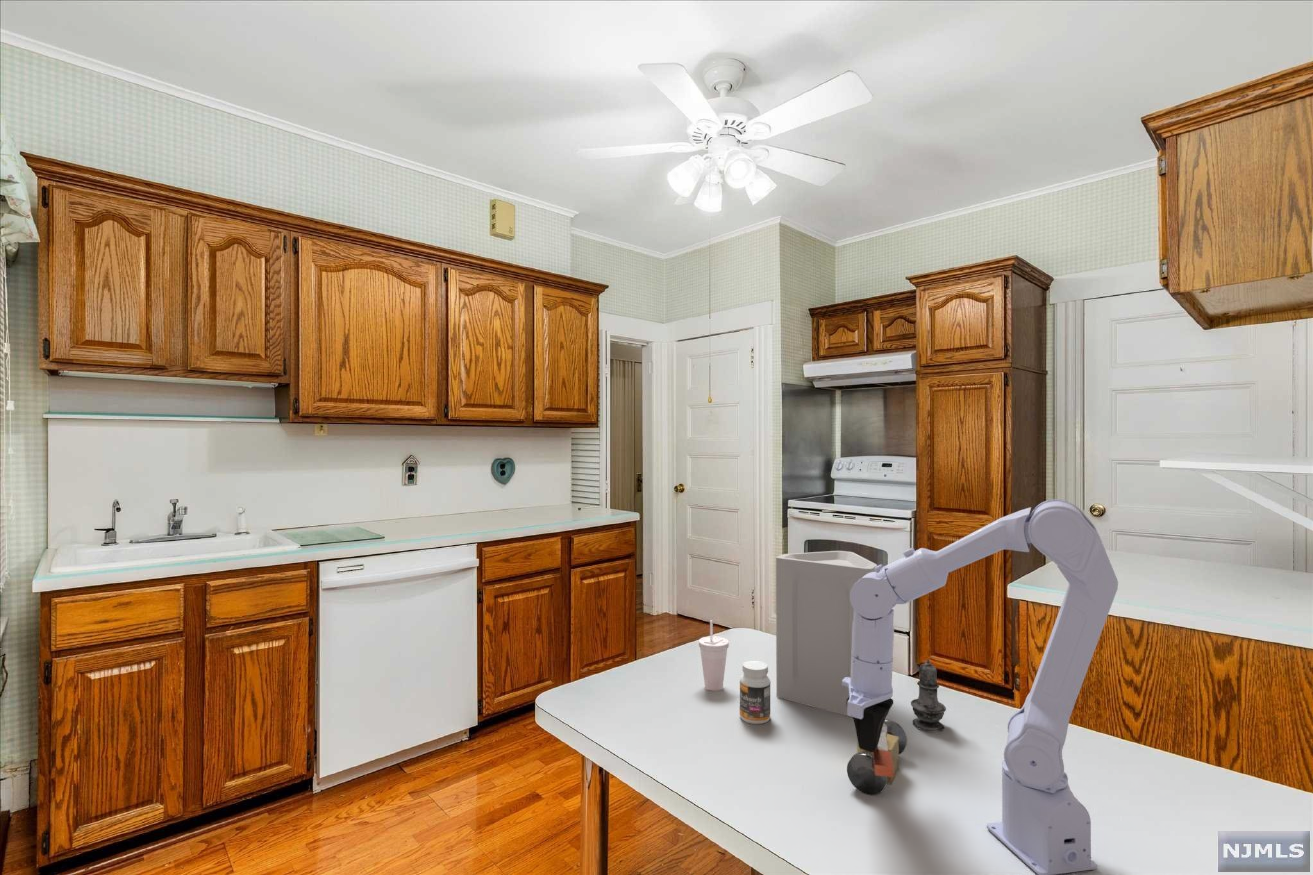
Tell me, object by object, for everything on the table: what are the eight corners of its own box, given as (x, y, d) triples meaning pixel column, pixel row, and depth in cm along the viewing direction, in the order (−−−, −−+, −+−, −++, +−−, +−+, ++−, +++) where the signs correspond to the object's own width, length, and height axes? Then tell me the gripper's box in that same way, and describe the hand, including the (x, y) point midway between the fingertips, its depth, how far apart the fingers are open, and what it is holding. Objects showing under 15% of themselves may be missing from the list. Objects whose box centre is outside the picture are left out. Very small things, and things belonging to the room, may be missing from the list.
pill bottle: (735, 721, 113) (735, 667, 113) (745, 708, 118) (745, 657, 118) (765, 727, 111) (764, 672, 111) (774, 715, 116) (774, 662, 116)
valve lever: (868, 729, 97) (868, 720, 97) (886, 731, 97) (886, 722, 97) (874, 774, 84) (874, 764, 84) (894, 777, 84) (894, 767, 84)
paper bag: (893, 693, 125) (892, 556, 125) (871, 721, 113) (870, 569, 113) (803, 673, 136) (803, 546, 136) (774, 696, 124) (774, 557, 124)
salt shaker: (950, 734, 108) (949, 666, 108) (914, 731, 109) (914, 663, 109) (941, 719, 114) (941, 654, 114) (907, 716, 115) (907, 652, 115)
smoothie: (693, 684, 130) (692, 618, 130) (719, 678, 133) (719, 614, 133) (708, 695, 124) (707, 626, 124) (735, 689, 127) (734, 622, 127)
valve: (885, 800, 88) (885, 761, 88) (846, 788, 92) (846, 750, 92) (906, 757, 100) (906, 723, 100) (871, 748, 103) (871, 714, 103)
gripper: (859, 636, 98) (856, 720, 98) (827, 664, 86) (823, 759, 86) (906, 647, 94) (902, 735, 94) (878, 677, 82) (874, 777, 82)
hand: (867, 748), depth 90 cm, fingers closed, pressing on valve lever
